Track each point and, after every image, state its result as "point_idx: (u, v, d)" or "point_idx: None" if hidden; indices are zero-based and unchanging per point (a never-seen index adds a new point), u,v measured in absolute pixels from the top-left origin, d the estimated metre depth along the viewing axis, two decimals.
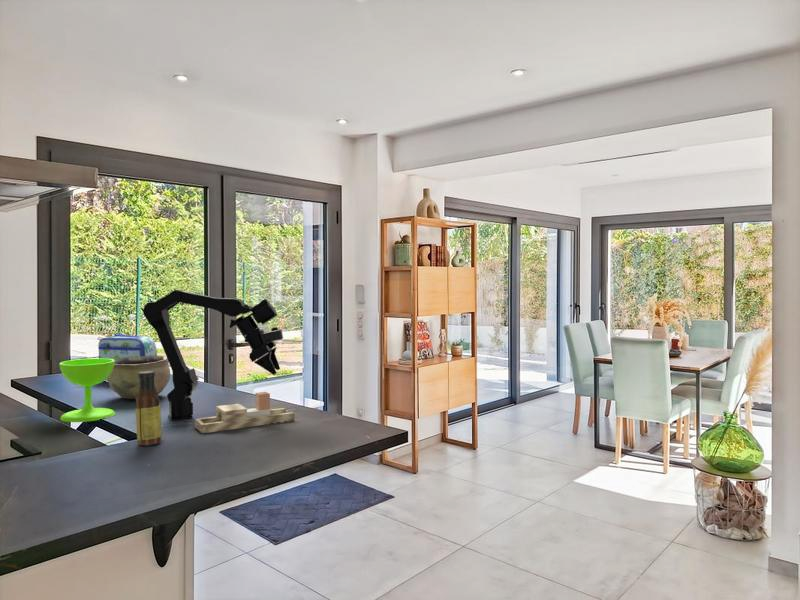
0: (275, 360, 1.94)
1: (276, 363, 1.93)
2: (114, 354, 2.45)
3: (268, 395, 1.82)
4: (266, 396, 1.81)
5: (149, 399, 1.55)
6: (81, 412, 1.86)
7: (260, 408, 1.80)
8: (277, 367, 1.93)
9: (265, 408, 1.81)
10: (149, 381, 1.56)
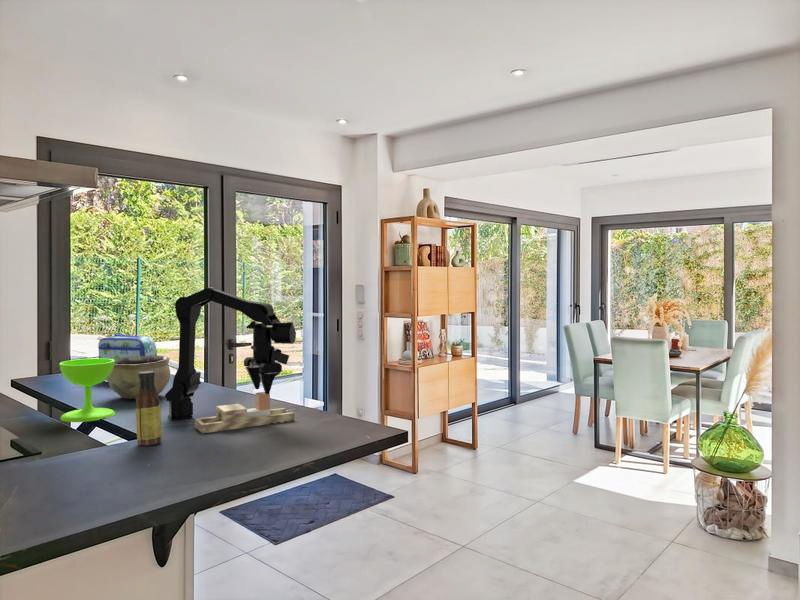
0: (259, 379, 1.87)
1: (258, 382, 1.86)
2: (114, 355, 2.45)
3: (268, 395, 1.82)
4: (266, 396, 1.81)
5: (149, 399, 1.55)
6: (81, 412, 1.86)
7: (260, 408, 1.80)
8: (257, 386, 1.86)
9: (265, 408, 1.81)
10: (149, 381, 1.56)
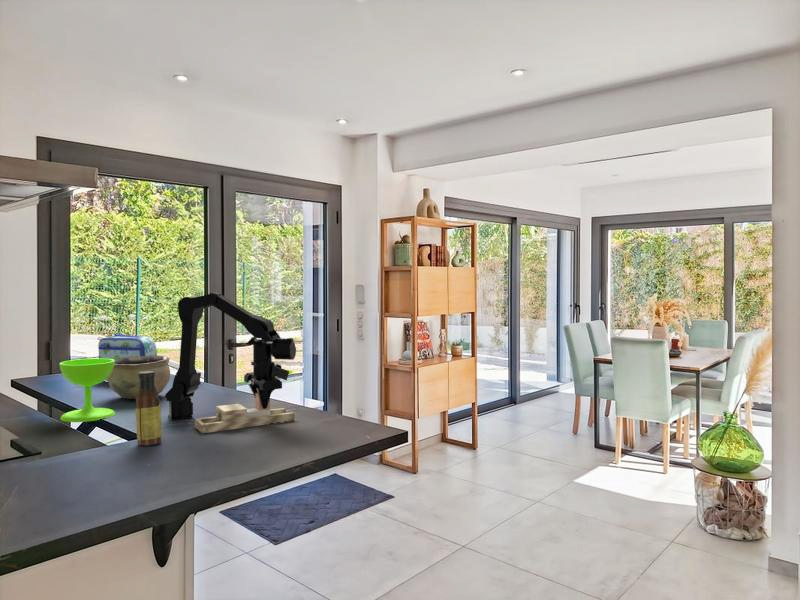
0: None
1: None
2: (114, 354, 2.45)
3: None
4: None
5: (149, 399, 1.55)
6: (81, 412, 1.86)
7: (260, 408, 1.80)
8: None
9: None
10: (149, 381, 1.56)
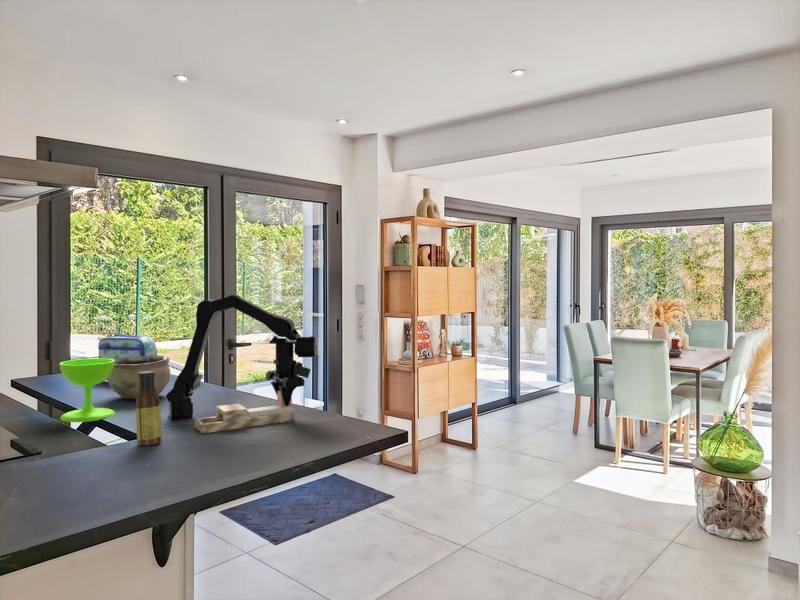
0: None
1: None
2: (114, 355, 2.45)
3: None
4: None
5: (149, 399, 1.55)
6: (81, 412, 1.86)
7: (282, 405, 1.84)
8: None
9: None
10: (149, 381, 1.56)
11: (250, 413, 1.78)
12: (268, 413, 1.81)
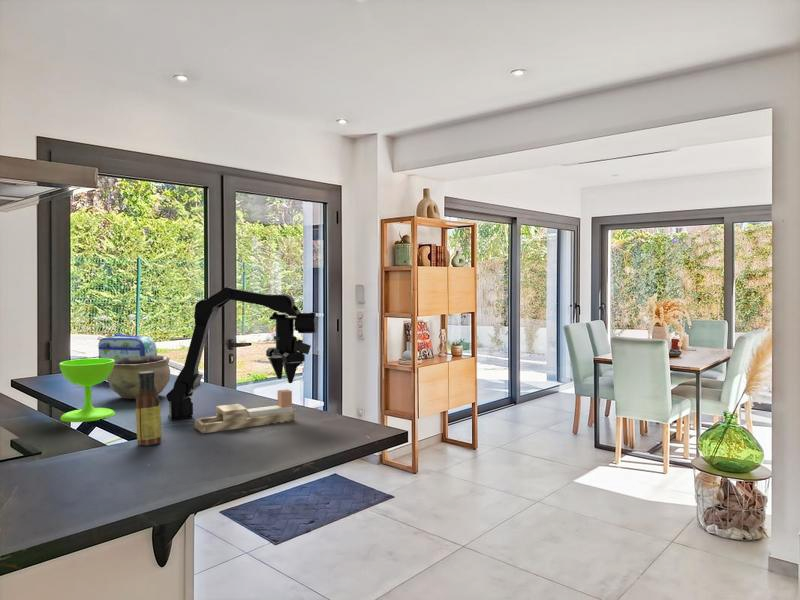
0: (281, 369, 1.91)
1: (281, 372, 1.90)
2: (114, 354, 2.45)
3: (290, 393, 1.86)
4: (288, 393, 1.85)
5: (149, 399, 1.55)
6: (81, 412, 1.86)
7: (282, 405, 1.84)
8: (280, 376, 1.90)
9: (287, 405, 1.85)
10: (149, 381, 1.56)
11: (250, 413, 1.78)
12: (268, 413, 1.81)
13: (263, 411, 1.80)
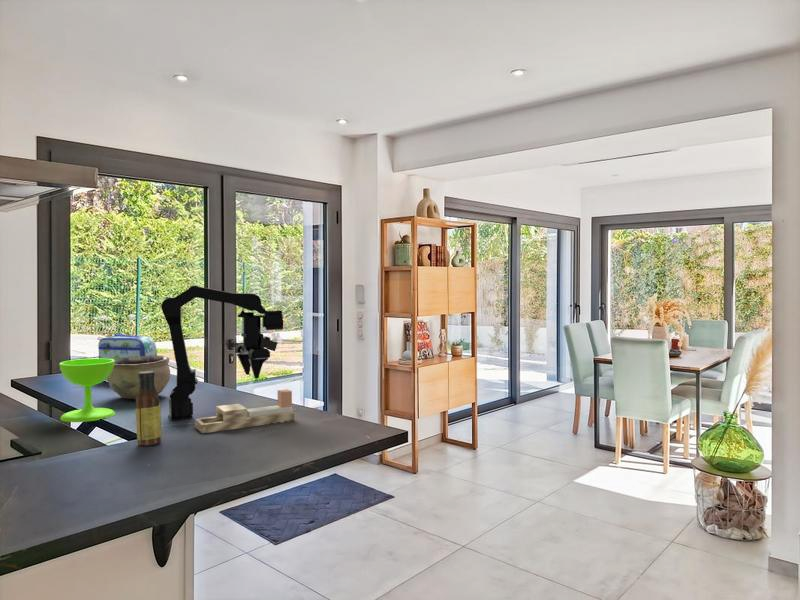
0: (249, 365, 1.98)
1: (249, 368, 1.98)
2: (114, 354, 2.45)
3: (290, 393, 1.86)
4: (288, 393, 1.85)
5: (149, 399, 1.55)
6: (81, 412, 1.86)
7: (282, 405, 1.84)
8: (247, 372, 1.97)
9: (287, 405, 1.85)
10: (149, 381, 1.56)
11: (250, 413, 1.78)
12: (268, 413, 1.81)
13: (263, 411, 1.80)
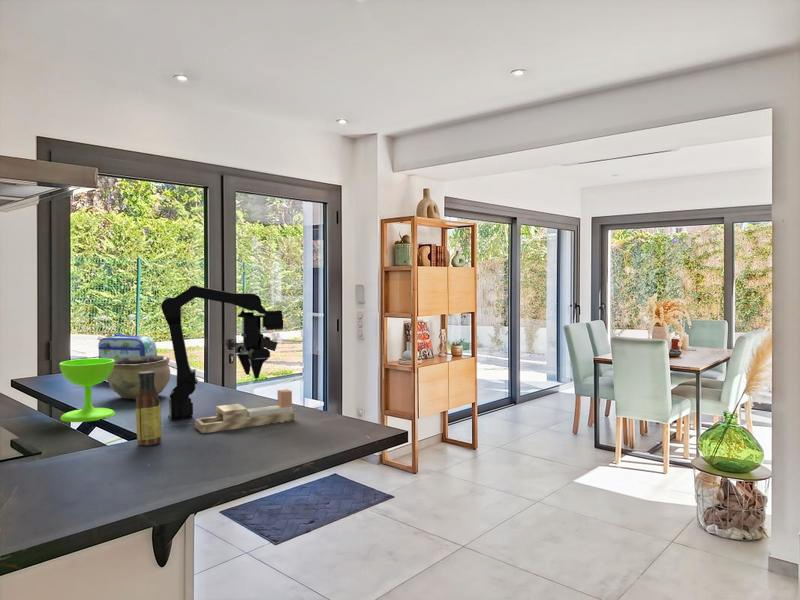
0: (249, 365, 1.98)
1: (249, 368, 1.98)
2: (114, 354, 2.45)
3: (290, 393, 1.86)
4: (288, 393, 1.85)
5: (149, 399, 1.55)
6: (81, 412, 1.86)
7: (282, 405, 1.84)
8: (247, 372, 1.97)
9: (287, 405, 1.85)
10: (149, 381, 1.56)
11: (250, 413, 1.78)
12: (268, 413, 1.81)
13: (263, 411, 1.80)
